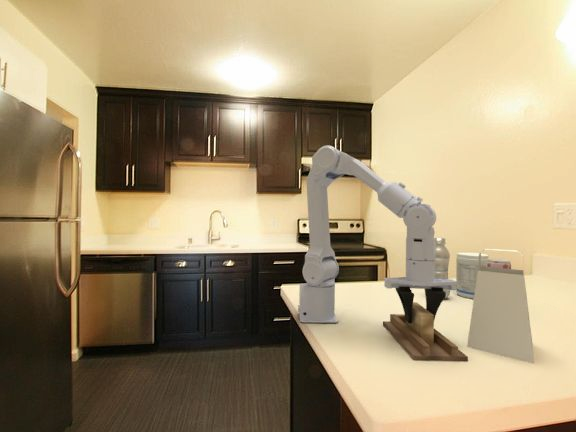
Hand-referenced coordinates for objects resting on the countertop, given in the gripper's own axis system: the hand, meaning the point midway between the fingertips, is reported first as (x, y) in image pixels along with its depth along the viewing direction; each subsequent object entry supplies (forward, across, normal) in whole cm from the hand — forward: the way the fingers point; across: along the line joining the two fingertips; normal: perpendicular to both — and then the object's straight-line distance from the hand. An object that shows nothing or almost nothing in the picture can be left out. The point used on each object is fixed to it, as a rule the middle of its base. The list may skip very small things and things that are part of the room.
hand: (419, 322), depth 63 cm
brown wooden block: (+3, 0, 0) cm, 3 cm away
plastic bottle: (+4, -20, -36) cm, 42 cm away
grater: (+4, -16, +1) cm, 17 cm away
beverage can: (+4, -31, -23) cm, 38 cm away
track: (+4, 0, 0) cm, 4 cm away
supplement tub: (+4, -33, -40) cm, 52 cm away
